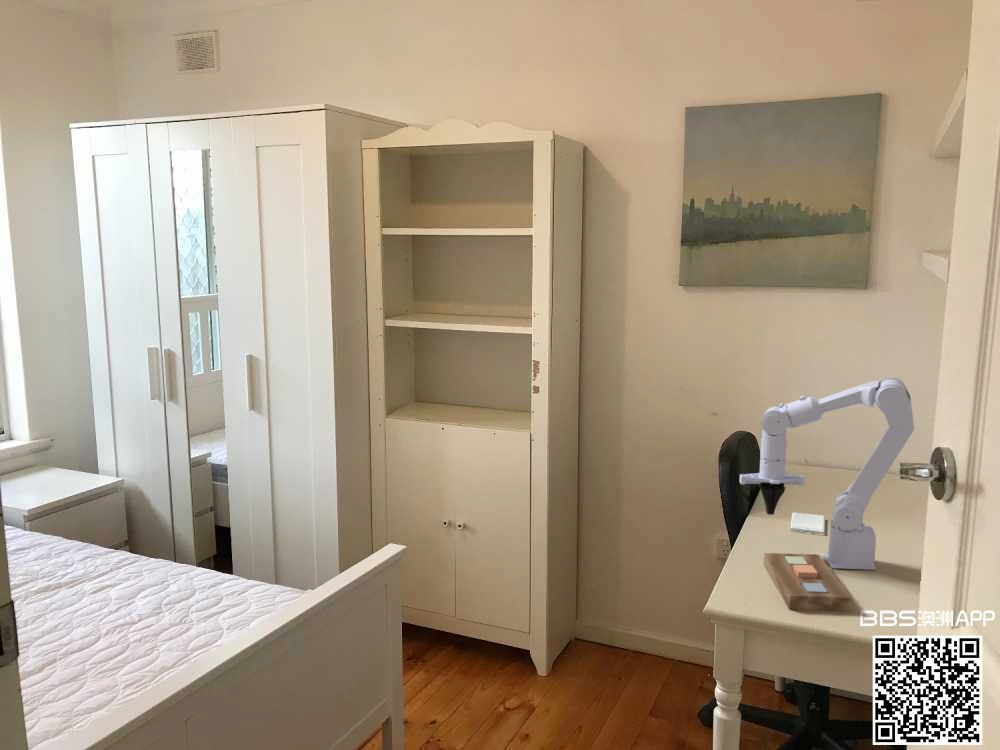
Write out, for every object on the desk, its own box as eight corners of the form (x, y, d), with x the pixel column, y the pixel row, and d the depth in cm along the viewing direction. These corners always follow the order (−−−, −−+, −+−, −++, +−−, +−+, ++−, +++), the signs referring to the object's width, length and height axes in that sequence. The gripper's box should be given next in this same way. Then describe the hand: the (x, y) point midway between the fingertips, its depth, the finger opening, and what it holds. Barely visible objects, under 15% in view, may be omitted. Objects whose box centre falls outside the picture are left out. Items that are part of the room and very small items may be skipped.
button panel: (817, 566, 185) (818, 554, 185) (850, 611, 164) (851, 597, 163) (763, 565, 186) (764, 553, 186) (789, 609, 165) (789, 595, 164)
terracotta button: (811, 575, 176) (812, 565, 176) (816, 583, 173) (817, 572, 172) (792, 574, 177) (793, 564, 176) (797, 582, 173) (798, 572, 172)
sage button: (802, 566, 183) (802, 556, 183) (807, 574, 180) (807, 563, 179) (783, 566, 184) (784, 556, 183) (788, 573, 180) (789, 563, 179)
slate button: (820, 594, 170) (821, 583, 169) (826, 602, 166) (827, 591, 165) (801, 593, 170) (801, 582, 170) (806, 602, 166) (807, 591, 166)
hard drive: (792, 511, 218) (790, 527, 207) (824, 515, 215) (824, 531, 204) (791, 517, 219) (789, 533, 207) (824, 521, 216) (824, 537, 204)
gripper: (745, 462, 187) (742, 518, 190) (809, 463, 186) (805, 519, 189) (738, 453, 194) (736, 508, 197) (801, 455, 193) (797, 509, 196)
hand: (769, 513), depth 193 cm, fingers closed
